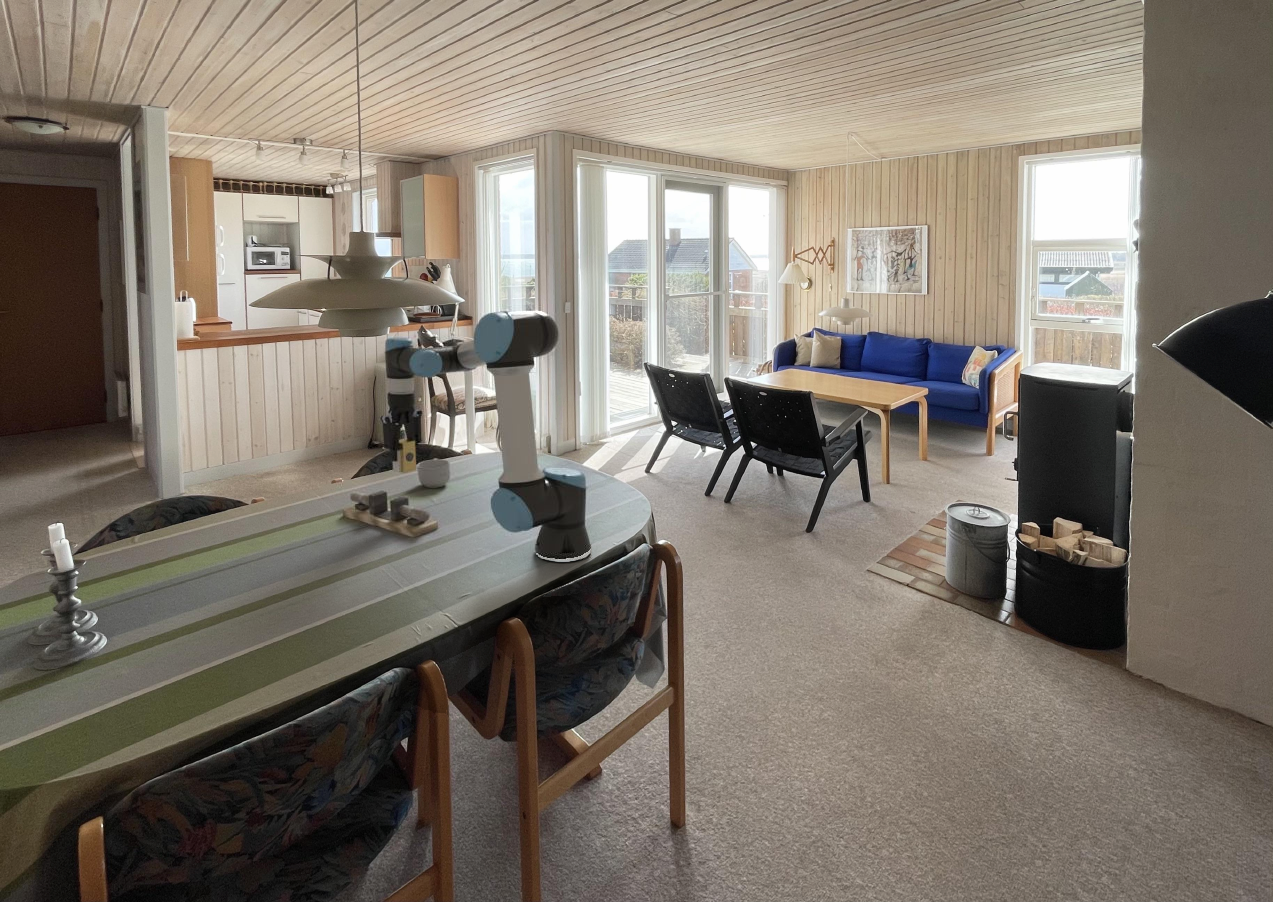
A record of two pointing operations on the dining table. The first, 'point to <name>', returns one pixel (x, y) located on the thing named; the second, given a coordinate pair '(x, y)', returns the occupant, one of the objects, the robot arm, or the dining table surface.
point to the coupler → (407, 455)
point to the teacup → (434, 472)
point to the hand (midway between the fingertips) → (404, 469)
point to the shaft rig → (390, 514)
